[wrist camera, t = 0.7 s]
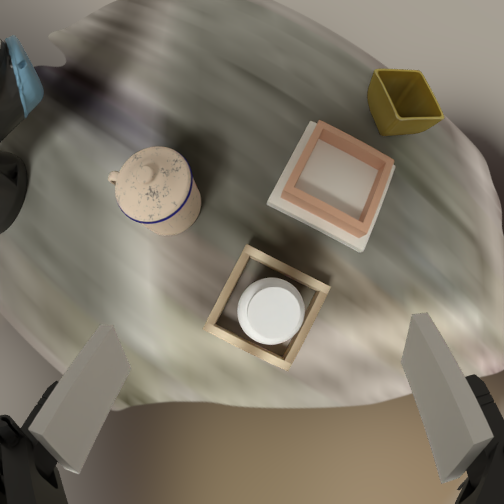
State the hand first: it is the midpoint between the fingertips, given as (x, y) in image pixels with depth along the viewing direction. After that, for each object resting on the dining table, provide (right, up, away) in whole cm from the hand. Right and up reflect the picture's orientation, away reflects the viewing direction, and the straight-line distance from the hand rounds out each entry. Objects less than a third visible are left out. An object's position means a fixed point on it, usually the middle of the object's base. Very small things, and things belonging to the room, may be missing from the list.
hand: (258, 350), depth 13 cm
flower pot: (+22, +25, +31) cm, 45 cm away
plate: (+11, +13, +29) cm, 34 cm away
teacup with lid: (-13, +11, +29) cm, 33 cm away
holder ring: (+2, -3, +27) cm, 27 cm away
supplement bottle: (+2, -3, +27) cm, 27 cm away
